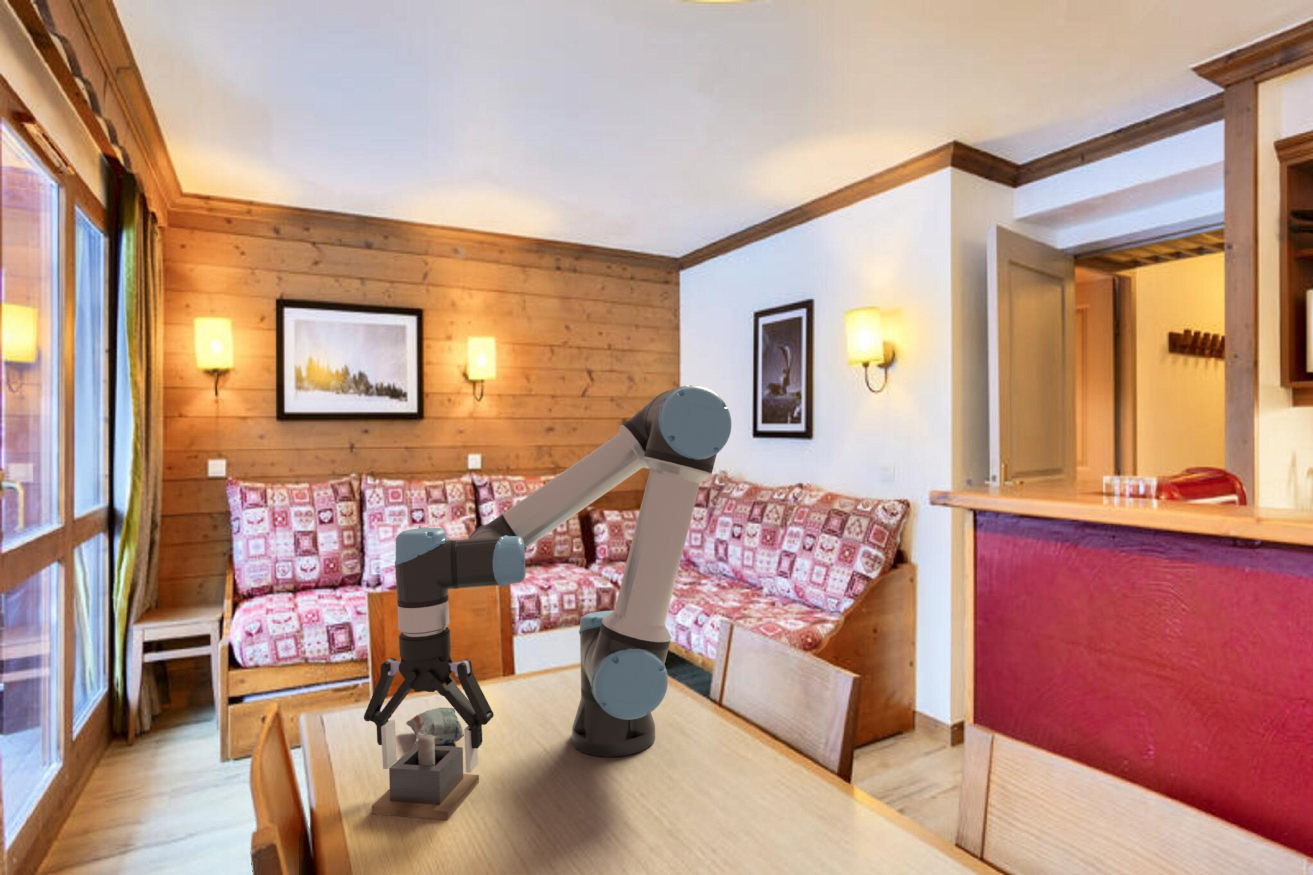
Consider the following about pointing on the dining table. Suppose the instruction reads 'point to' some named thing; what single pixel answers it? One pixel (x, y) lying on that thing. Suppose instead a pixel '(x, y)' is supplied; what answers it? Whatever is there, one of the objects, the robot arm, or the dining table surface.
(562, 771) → the dining table surface
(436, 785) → the link
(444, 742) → the packaged food
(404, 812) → the stand
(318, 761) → the dining table surface
